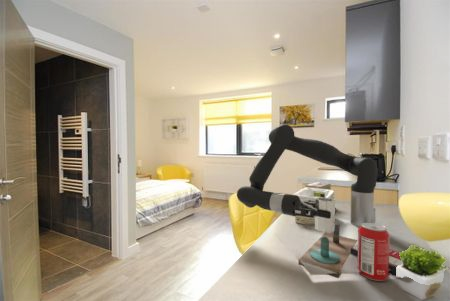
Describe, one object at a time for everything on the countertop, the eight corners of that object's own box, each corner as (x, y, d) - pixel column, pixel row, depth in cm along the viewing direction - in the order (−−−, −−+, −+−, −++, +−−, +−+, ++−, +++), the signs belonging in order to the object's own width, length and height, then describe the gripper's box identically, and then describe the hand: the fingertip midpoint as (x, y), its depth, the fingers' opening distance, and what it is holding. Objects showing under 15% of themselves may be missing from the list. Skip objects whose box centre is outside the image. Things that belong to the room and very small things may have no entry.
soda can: (359, 279, 66) (360, 228, 65) (355, 266, 73) (356, 220, 72) (391, 286, 62) (393, 232, 62) (385, 271, 70) (386, 223, 69)
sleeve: (327, 226, 78) (328, 197, 78) (337, 232, 73) (338, 201, 73) (312, 226, 78) (313, 197, 78) (320, 232, 72) (321, 201, 72)
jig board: (325, 235, 97) (325, 216, 97) (357, 243, 89) (357, 222, 89) (298, 264, 74) (298, 238, 74) (338, 278, 66) (339, 249, 66)
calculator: (402, 267, 66) (350, 246, 78) (401, 282, 66) (349, 258, 78) (415, 257, 72) (365, 238, 84) (414, 270, 72) (364, 249, 85)
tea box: (315, 203, 150) (316, 181, 150) (331, 206, 143) (331, 183, 143) (304, 207, 140) (305, 184, 140) (320, 211, 133) (321, 186, 133)
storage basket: (326, 230, 104) (326, 198, 103) (291, 223, 113) (291, 193, 113) (335, 216, 123) (335, 189, 123) (304, 211, 133) (305, 186, 132)
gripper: (276, 197, 79) (327, 206, 68) (292, 190, 90) (339, 197, 79) (275, 218, 79) (326, 230, 68) (292, 209, 90) (338, 218, 79)
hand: (333, 212), depth 74 cm, fingers closed on sleeve, 5 cm apart
